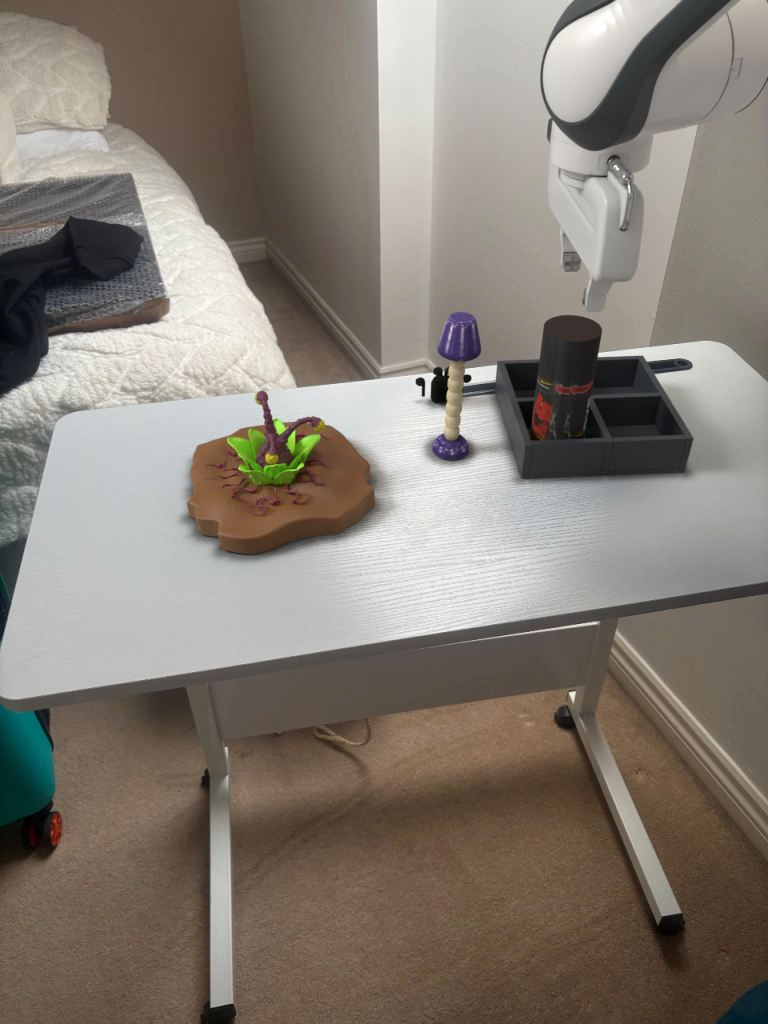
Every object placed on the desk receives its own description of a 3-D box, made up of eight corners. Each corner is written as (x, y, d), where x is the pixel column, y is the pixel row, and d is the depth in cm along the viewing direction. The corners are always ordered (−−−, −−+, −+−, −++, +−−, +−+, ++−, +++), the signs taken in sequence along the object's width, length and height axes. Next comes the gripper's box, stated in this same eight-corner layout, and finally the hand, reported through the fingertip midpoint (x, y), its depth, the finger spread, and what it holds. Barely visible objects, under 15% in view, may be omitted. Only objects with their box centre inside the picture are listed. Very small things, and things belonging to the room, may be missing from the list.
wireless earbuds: (469, 396, 105) (471, 361, 102) (472, 407, 103) (475, 371, 100) (414, 400, 105) (415, 365, 102) (417, 411, 103) (418, 375, 100)
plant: (338, 424, 101) (334, 341, 93) (395, 521, 86) (395, 431, 79) (172, 458, 95) (154, 372, 88) (204, 567, 81) (185, 476, 74)
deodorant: (585, 462, 93) (607, 341, 83) (532, 462, 93) (547, 341, 83) (577, 433, 97) (596, 315, 88) (526, 432, 97) (540, 314, 88)
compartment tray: (636, 387, 107) (643, 355, 104) (684, 472, 93) (693, 438, 90) (494, 392, 106) (497, 360, 103) (521, 479, 92) (525, 445, 89)
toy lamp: (446, 433, 99) (452, 303, 88) (480, 446, 97) (491, 314, 86) (425, 453, 96) (429, 320, 85) (460, 466, 94) (468, 332, 83)
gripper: (674, 177, 66) (642, 334, 75) (606, 112, 82) (587, 248, 91) (595, 179, 66) (573, 337, 75) (543, 114, 82) (529, 250, 91)
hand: (580, 288), depth 83 cm, fingers open, 8 cm apart
